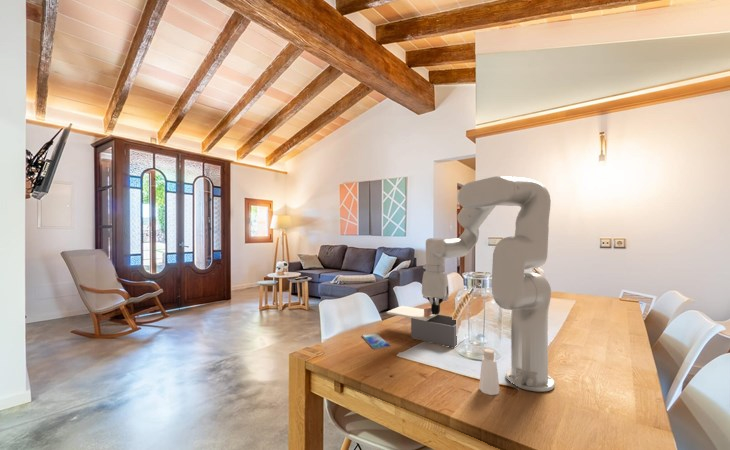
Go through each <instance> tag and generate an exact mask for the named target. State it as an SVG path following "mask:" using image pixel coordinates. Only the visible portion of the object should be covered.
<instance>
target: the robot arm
mask: <svg viewBox="0 0 730 450" xmlns="http://www.w3.org/2000/svg"><path fill="white" fill-rule="evenodd" d="M457 201H458V204H459V205H460V206H461V207H462V208H461V209H460V211H459V212H458V214H457V215H456V219H457V222H458V224H459V225H460V226H461V227H462V228H464V230H463V231H462V233H461V235H459V237H449V238H439V237H433V238H427V239H426V240H425V264H423V266H422V268H423V269H424V270H425V271H423V274H422V280H421V295H422V298H423V299H425V300H428V302H429V304H430V306H431V311H432V314H433V315H434V314H435V315H437V314H440V311H441V307H440V306H441V304H442V303H443V302H448V301H449V293H450V290H449V288H450V287H449V279H448V274H447V272H446V267H445V266H446V264H445V263H446V261H445V260H446V259H451V258H452V259H453V258H463V257H465V256H466V255H468V254H469V253H470V252H471V251H472V249H474V247H475V246H476V244H477V243H478V240H479V235H480V230H479V228H480V227H481V226H482V224H483V223H484V222H485V220H486V219H487V218H488V216H489V215H490V214H491V212H492V211H493V210H494V209H495V208H496V206H508V207H510V206H512V207H513V206H516V207H520V210H519V211H518V213H517V216H516V219H515V231H514V236H512V235H511V236H506V237H503V238H501V239H500V240H499V241H498V243H496V245H495V247H494V249H493V253H492V269H491V270H492V271H491V294H492V296H493V297H492V298H493V300H494V302H495V303H496V304H497V306H499V307H500V308H501V309H504V310H506V311H507V310H508V311H510V310H511V318H510V338H511V340H510V342H511V343H510V344H511V345H510V350H511V351H510V353H511V355H510V356H511V357H510V358H511V360H510V361H511V363H510V365H511V366H510V367H511V368H509V369H508V370H506V372H505V378H506V380H507V379H508V380H509V381H510V382H512V383H514V384H515V385H516V386H515V385H514V386H515V387H517V386H518V387H517V388H519V389H523V390H525V391H526V390H527V391H530V392H531V391H532V392H538V393H540V392H542V393H543V392H549V391H551V390H552V391H553V389H554V388H555V380H554V379H553V378H552V377H551V376H550V375H549V349H548V347H549V346H548V343H549V342H548V341H549V338H548V337H549V335H548V331H549V327H548V326H549V320H548V319H549V309H550V303H551V300H552V299H551V298H552V288H551V285H550V283H549V281H548V279H547V278H546V277H544V276H543V275H541V274H539V273H537V272H531V271H529V272H525V270H531V269H537V268H540V267H542V266H543V265H545V263H546V261H547V258H548V254H549V253H548V248H549V228H550V227H549V226H550V225H549V223H550V213H551V206H552V205H551V195H550V192H549V191H548V189H547V187H546V186H545V185H544V184H542V183H541V182H539V181H536V180H534V179H532V178H526V177H517V176H513V177H512V176H505V175H504V176H503V175H500V176H499V175H498V176H492V177H491V176H490V177H487V178H482V179H478V180H474V181H470V182H466V183H465V184H464V185H462V186H461V188H460V189H459V191H458V194H457ZM508 380H507V381H508ZM509 381H508V382H509ZM510 382H509V383H510ZM512 383H511V384H512Z"/></svg>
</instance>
